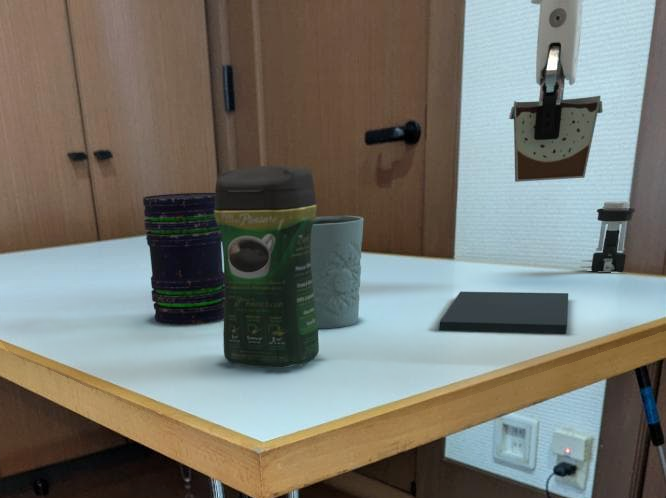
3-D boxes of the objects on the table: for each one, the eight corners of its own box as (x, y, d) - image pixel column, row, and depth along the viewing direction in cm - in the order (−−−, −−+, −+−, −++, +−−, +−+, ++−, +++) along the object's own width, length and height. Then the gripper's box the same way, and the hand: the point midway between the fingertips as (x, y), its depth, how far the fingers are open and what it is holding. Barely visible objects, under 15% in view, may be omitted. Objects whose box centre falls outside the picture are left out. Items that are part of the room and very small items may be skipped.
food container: (580, 176, 117) (589, 98, 112) (595, 177, 111) (604, 95, 107) (495, 181, 117) (500, 104, 113) (505, 182, 112) (511, 101, 108)
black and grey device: (579, 273, 125) (588, 204, 120) (579, 268, 129) (588, 201, 125) (626, 273, 123) (637, 203, 118) (624, 268, 127) (635, 200, 123)
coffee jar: (329, 355, 85) (328, 162, 76) (295, 374, 79) (290, 166, 70) (250, 348, 89) (241, 165, 81) (212, 365, 83) (198, 169, 75)
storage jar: (215, 326, 101) (206, 197, 94) (142, 325, 103) (129, 199, 96) (236, 310, 109) (230, 191, 103) (169, 310, 112) (158, 194, 105)
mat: (567, 300, 106) (568, 293, 105) (566, 334, 89) (567, 324, 89) (459, 298, 110) (460, 291, 110) (438, 330, 93) (439, 321, 93)
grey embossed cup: (356, 330, 95) (357, 222, 90) (273, 329, 97) (270, 224, 92) (367, 313, 104) (368, 214, 98) (290, 313, 106) (288, 216, 101)
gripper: (593, -28, 96) (575, 138, 103) (593, -8, 110) (577, 137, 118) (527, -21, 98) (514, 141, 106) (536, -1, 113) (523, 140, 120)
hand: (547, 138), depth 112 cm, fingers closed on food container, 7 cm apart
